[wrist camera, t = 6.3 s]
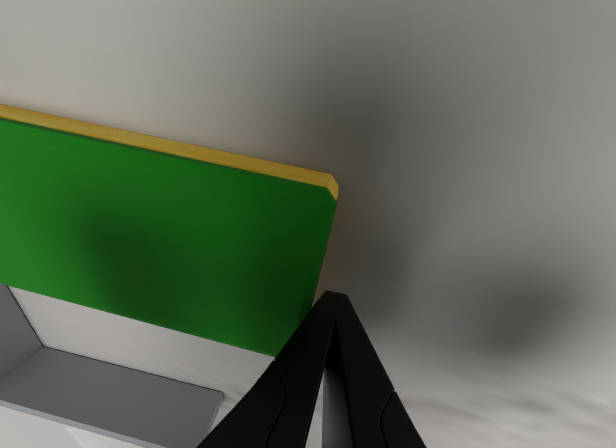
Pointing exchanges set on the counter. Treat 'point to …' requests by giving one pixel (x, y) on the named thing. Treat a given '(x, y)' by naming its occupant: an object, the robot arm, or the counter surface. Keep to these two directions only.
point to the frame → (97, 391)
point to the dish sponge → (161, 229)
